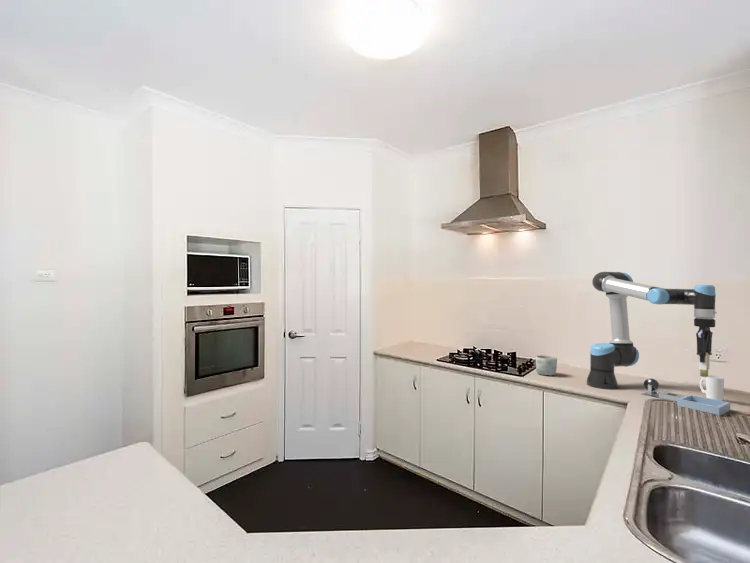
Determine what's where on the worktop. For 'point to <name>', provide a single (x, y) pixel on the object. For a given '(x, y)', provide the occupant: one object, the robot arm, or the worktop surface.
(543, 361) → the planter
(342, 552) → the worktop surface
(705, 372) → the pin
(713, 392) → the mug
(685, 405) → the tray
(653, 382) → the tensioner
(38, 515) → the worktop surface
